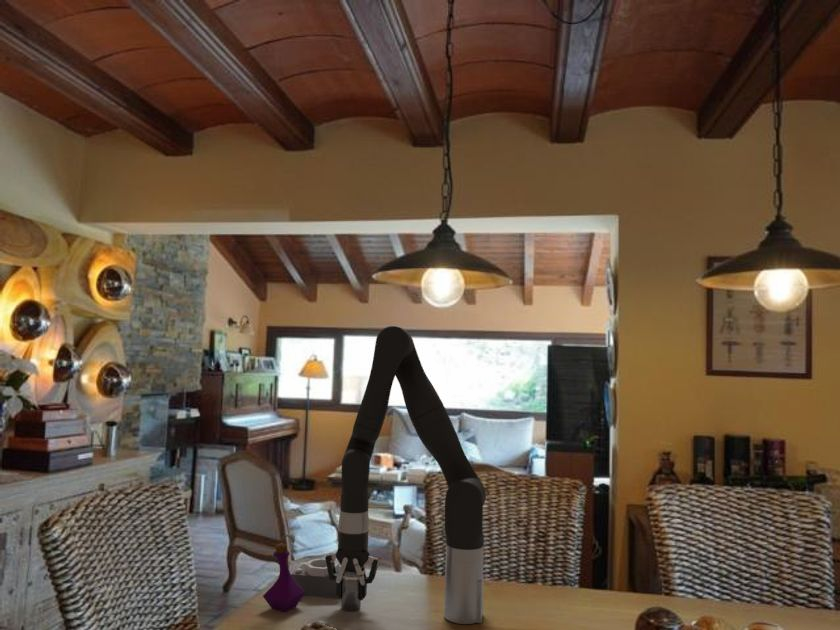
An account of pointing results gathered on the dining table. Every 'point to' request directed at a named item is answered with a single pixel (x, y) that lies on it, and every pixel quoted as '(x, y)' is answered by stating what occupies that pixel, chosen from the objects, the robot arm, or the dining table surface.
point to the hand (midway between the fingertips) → (351, 598)
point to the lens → (350, 591)
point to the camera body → (316, 578)
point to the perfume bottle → (284, 582)
